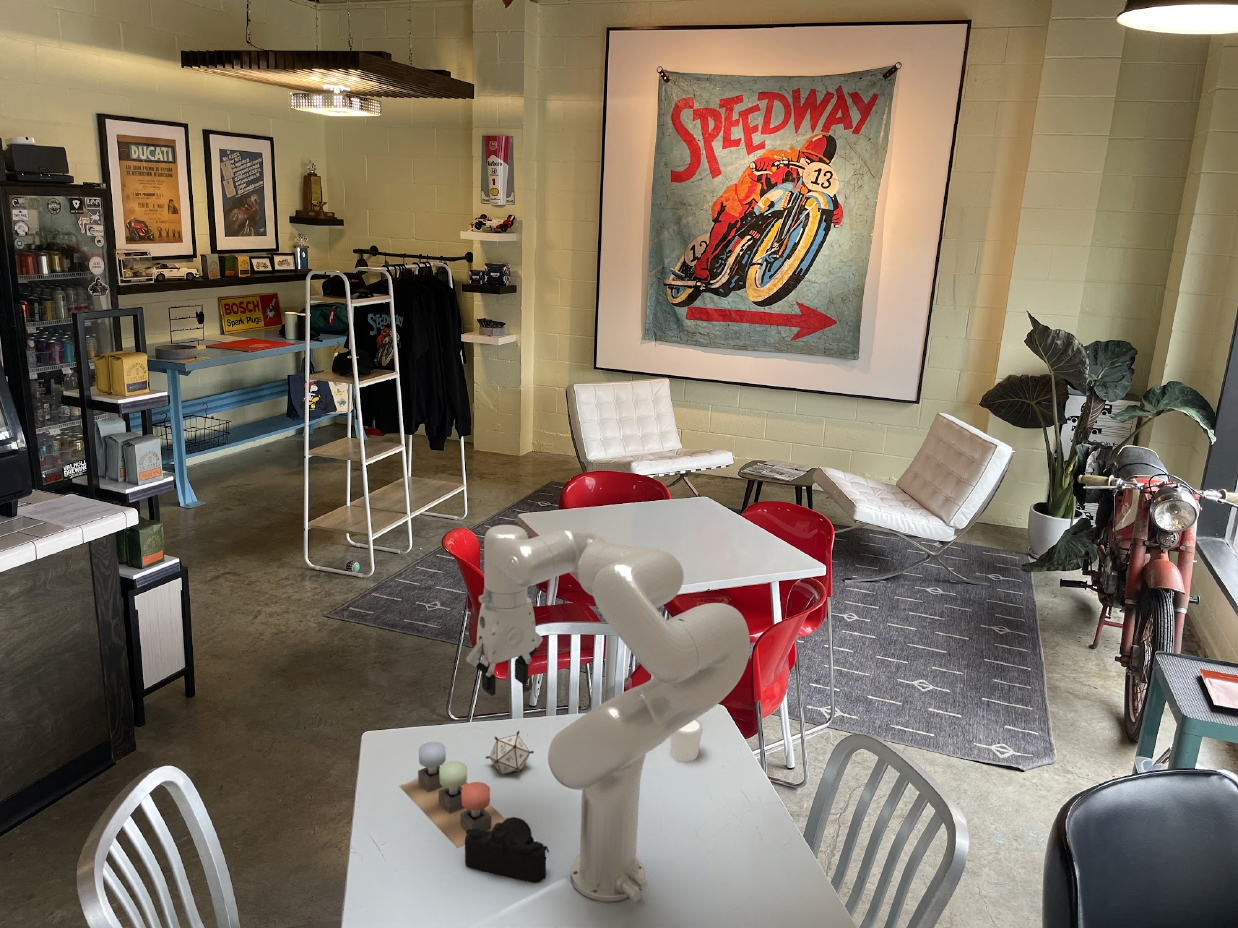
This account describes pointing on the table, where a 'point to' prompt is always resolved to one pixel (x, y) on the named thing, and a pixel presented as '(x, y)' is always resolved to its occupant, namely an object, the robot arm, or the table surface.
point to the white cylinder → (686, 742)
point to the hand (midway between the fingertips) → (505, 685)
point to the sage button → (453, 776)
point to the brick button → (475, 797)
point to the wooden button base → (448, 807)
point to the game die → (509, 754)
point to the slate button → (432, 756)
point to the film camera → (506, 851)
